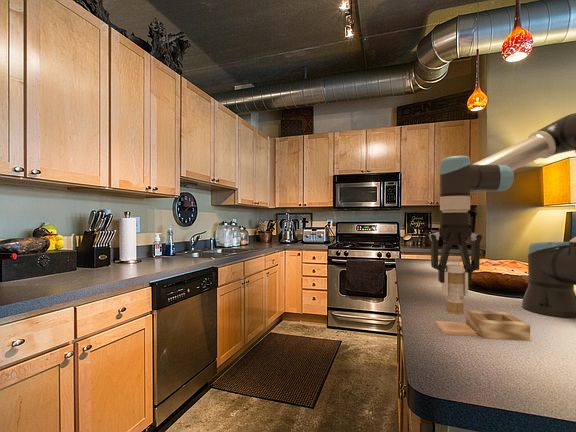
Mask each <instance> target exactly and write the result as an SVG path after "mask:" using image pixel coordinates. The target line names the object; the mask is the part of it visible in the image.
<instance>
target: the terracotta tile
mask: <svg viewBox="0 0 576 432" xmlns="http://www.w3.org/2000/svg"><path fill="white" fill-rule="evenodd" d="M435 325H436V326H437V327H438V328H439V330H440V331H442V333H443V334H444V335H453V336H454V335H456V336H457V335H458V336H471V337H474V336H475V337H476V336H477V334H478V333H477V332H475V331H474V330H473V329H472V328H471V327H470V326H468V325H467V324H466V322H461V321H460V322H459V321H443V320H442V321H439V320H435Z"/></svg>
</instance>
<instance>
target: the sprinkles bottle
mask: <svg viewBox="0 0 576 432" xmlns="http://www.w3.org/2000/svg"><path fill="white" fill-rule="evenodd" d="M445 271H446V272H448V295H445V302H446V304H445V306H446V309H445V311H446V313H448V314H451V315H457V316H458V315H459V316H461V315H464V313H465V312H464V302H465V299H464V297H465V296H464V284H463V274H464V271H465V270H464V266H463V264H455V263H454V264H453V263H452V264H448V263H447V264H446V268H445Z"/></svg>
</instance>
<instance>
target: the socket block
mask: <svg viewBox="0 0 576 432" xmlns="http://www.w3.org/2000/svg"><path fill="white" fill-rule="evenodd" d="M465 313H466V314H465V315H466V316H465V318H466V322H465V323H466V324H467V325H468V326H469V327H471V328H472V329H473V330H474V331H475V332H476V333H477V334H478V335H479V336H480V337H481V338H482V339H490V340H509V341H527V342H531V325H530V324H529V323H527V322H525V321H524V320H522V319H520V318H518V317H517V316H515V315H513V314H511V313H510V312H508V311H493V310H492V311H490V310H488V311H487V310H469V309H467V310H466V311H465Z"/></svg>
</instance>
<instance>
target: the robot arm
mask: <svg viewBox="0 0 576 432" xmlns="http://www.w3.org/2000/svg"><path fill="white" fill-rule="evenodd" d="M573 151H575V154H576V112H574V113H570V114H567V115H565V116H562V117H560V118H558V119H556V120H555V121H553V122H551V123H549V124H547V125H545V126H543V127H542V128H540V129H538V130H536V131H534V132H532V133H530V135H528V137H527V138H525V139H524V140H521V141H519V142H517V143H515V144H513V145H511V146H509V147H507V148H504V149H502V150H500V151H498V152H495V153H493V154H491V155H489V156H487V157H485V158H482V159H480V160H478V161H475V162H474V163H471V158H470V156H467V155H452V156H446V157H444V158H443V159H441V160H440V164H439V165H440V166H439V211H441V212H440V214H439V228H438V231H437V232H435V233H429V234H428V238H429V241H430V261H431V262H430V264H431V265H430V266H431V268H432V269H434V270H437V271H438V273H437V274H438V276H437V278H438V280H437V281H438V282H439V283H441V294H442V295H443V296H446V295H448V272H446V265H448V261H449V260H448V259H449V256H450V252H451V249H452V246H454V245H457V247H458V250H459V254H460V256H461V257H460V258H461V262H462V266H464V274H463V284H464V297H468V296H469V284H472V281H473V280H472V279H473V278H472V276H473V275H472V274H473V273H474V272H475V271H479V270H480V263H481V262H480V260H481V259H480V258H481V257H480V256H481V254H480V253H481V252H480V251H481V249H480V248H481V245H480V243H481V242H482V239H483V235H482V234H477V233H475V232H472V230H471V213H470V212H469V211H470V210H471V194H474V193H475V194H476V193H483V192H494V193H496V192H504V191H507V190H509V189H510V188H511V187H512V186H513V183H514V181H515V179H514V175H515V173H514V171H515V170H516V169H519V168H521V167H523V166H526V165H527V164H530V163H532V162H535V161H537V160H539V159H548V158H550V157H552V156H556V155H558V154H563V153H567V152H568V153H569V152H573ZM440 238H441V239H442V241H443V242H442V250H441V254H440V257H439V242H438V241H439V240H440ZM469 238H470V240H471V244H470V248H471V249H470V254H471V255H469V251H468V246H467V241H468V240H469ZM527 266H528V267H527V268H528V269H527V270H528V286H527V288H526V290H525V293H524V295H523V298H522V301H521V302H522V304H521V305H522V306H521V307H522V308H523V309H525V310H527V311H529V312H533V313H535V314H540V315H541V314H542V315H545V316H551V317H557V318H558V317H559V318H576V292H575V286H576V236H574V237H573V238H571V239H570V240H569V241H553V242H552V241H551V242H550V241H549V242H547V241H546V242H545V241H544V242H533V243H531V244H530V245H529V246H528V253H527Z"/></svg>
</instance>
